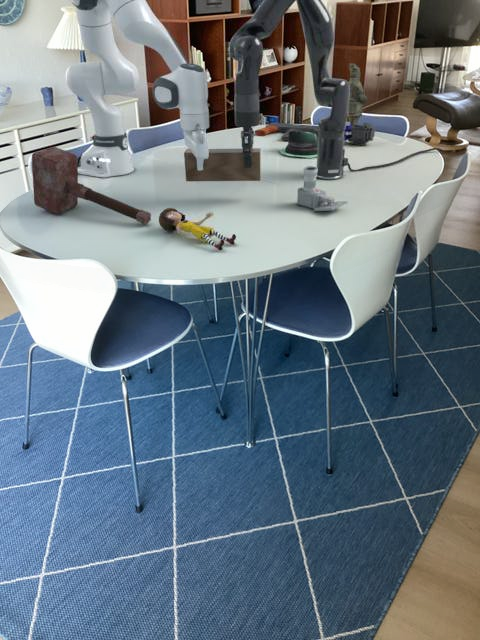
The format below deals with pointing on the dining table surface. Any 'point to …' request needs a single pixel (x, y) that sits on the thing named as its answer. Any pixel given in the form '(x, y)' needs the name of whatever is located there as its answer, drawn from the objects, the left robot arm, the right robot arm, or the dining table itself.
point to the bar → (223, 166)
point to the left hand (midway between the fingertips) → (197, 166)
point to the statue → (355, 96)
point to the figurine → (191, 227)
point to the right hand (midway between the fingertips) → (248, 164)
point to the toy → (359, 133)
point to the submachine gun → (282, 129)
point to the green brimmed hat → (302, 143)
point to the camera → (315, 193)
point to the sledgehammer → (69, 186)
